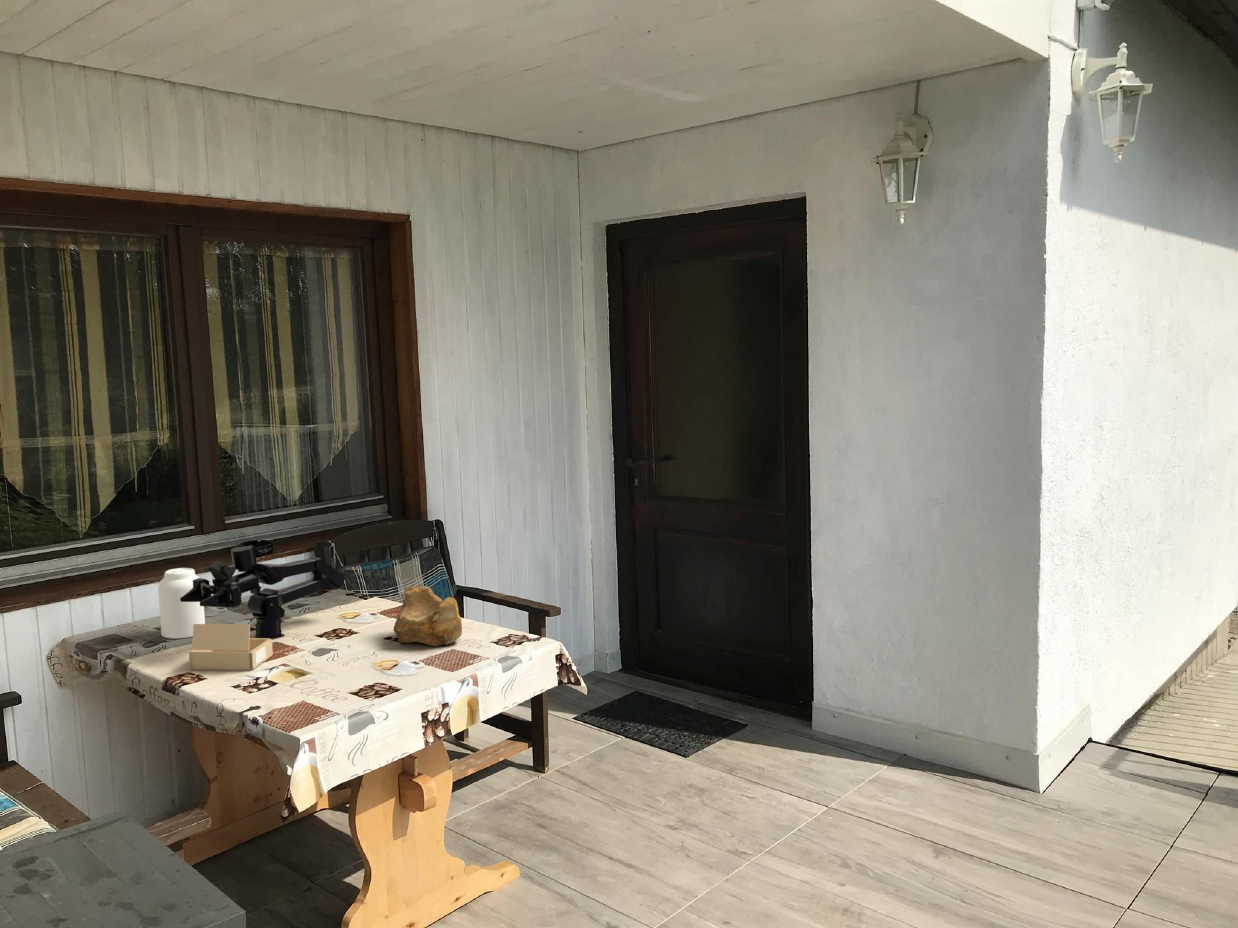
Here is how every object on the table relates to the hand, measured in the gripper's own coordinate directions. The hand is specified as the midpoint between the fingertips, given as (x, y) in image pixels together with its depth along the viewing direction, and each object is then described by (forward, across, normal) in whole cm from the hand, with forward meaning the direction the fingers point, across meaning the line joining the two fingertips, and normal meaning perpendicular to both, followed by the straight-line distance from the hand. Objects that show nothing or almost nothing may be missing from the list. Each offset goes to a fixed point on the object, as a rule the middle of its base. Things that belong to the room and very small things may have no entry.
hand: (190, 602), depth 276 cm
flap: (+3, +15, +11) cm, 19 cm away
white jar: (-12, -26, +18) cm, 34 cm away
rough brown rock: (-44, +43, +22) cm, 65 cm away
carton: (-2, +12, +17) cm, 21 cm away
